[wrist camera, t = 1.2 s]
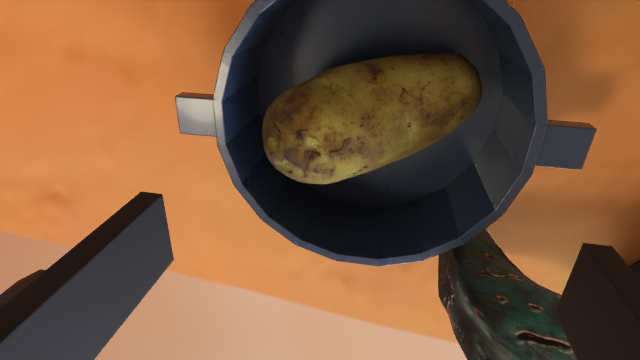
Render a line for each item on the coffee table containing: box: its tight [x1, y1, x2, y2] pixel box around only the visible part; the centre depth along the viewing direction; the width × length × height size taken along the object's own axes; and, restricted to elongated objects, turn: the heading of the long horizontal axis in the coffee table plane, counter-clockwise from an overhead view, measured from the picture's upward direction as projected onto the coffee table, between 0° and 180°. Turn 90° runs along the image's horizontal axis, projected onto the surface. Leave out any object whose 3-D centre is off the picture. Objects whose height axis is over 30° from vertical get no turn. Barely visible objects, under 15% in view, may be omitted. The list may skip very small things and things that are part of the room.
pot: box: [175, 0, 596, 266], centre depth 25 cm, size 18×23×7 cm
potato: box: [262, 53, 482, 184], centre depth 24 cm, size 8×13×8 cm, turn 88°
